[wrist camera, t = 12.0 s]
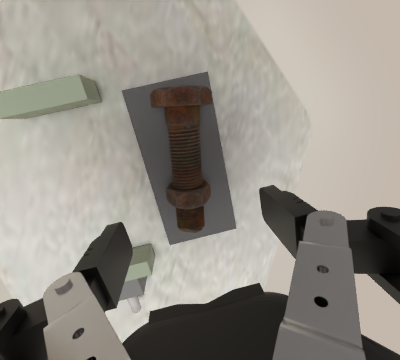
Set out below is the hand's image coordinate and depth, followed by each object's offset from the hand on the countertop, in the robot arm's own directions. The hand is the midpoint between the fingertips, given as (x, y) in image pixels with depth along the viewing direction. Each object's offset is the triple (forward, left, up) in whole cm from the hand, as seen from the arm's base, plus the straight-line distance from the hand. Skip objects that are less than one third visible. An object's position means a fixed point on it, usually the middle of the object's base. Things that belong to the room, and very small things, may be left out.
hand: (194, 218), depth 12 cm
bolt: (-1, 0, -13) cm, 13 cm away
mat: (0, 0, -13) cm, 13 cm away
